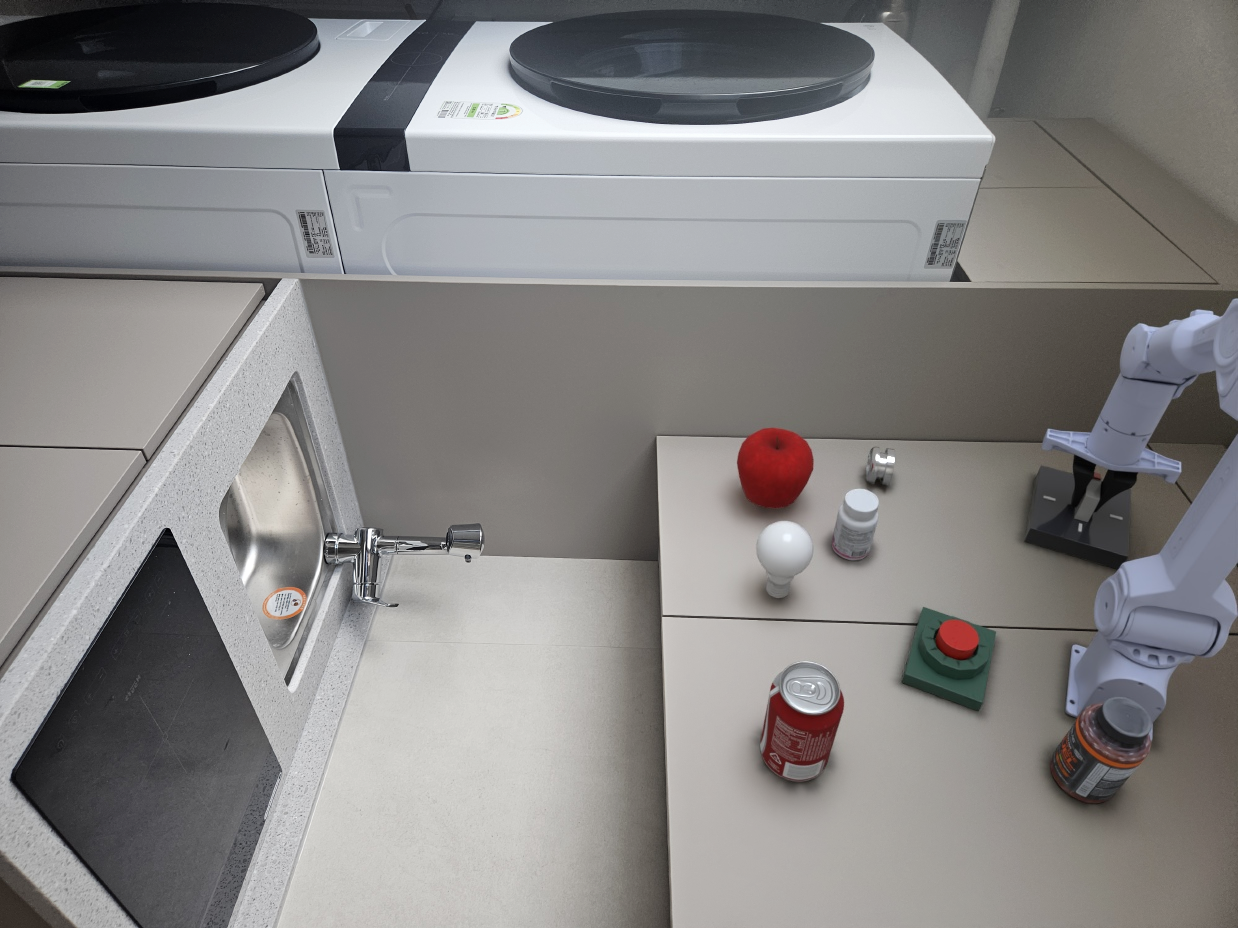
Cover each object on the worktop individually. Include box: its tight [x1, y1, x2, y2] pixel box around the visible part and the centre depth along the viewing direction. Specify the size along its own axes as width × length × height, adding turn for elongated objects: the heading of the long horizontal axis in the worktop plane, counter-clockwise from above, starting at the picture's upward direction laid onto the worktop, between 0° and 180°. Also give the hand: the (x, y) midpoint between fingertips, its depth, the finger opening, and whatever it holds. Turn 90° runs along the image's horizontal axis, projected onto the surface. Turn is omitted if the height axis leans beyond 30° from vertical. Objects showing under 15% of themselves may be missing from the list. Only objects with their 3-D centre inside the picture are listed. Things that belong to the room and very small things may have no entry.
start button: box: [936, 620, 979, 660], centre depth 86 cm, size 4×4×2 cm
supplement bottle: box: [1049, 697, 1152, 804], centre depth 75 cm, size 6×6×11 cm
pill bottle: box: [831, 488, 880, 561], centre depth 99 cm, size 5×5×8 cm
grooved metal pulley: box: [865, 446, 896, 486], centre depth 109 cm, size 5×3×5 cm, turn 166°
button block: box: [901, 606, 997, 712], centre depth 88 cm, size 10×8×4 cm
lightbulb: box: [755, 520, 814, 599], centre depth 93 cm, size 6×6×11 cm
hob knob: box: [1074, 471, 1103, 522], centre depth 101 cm, size 5×2×4 cm, turn 154°
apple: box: [736, 427, 815, 509], centre depth 105 cm, size 10×10×11 cm
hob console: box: [1024, 464, 1132, 570], centre depth 103 cm, size 13×11×3 cm
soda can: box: [759, 660, 845, 783], centre depth 77 cm, size 7×7×12 cm
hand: (1084, 504), depth 102 cm, fingers closed on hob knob, 2 cm apart
